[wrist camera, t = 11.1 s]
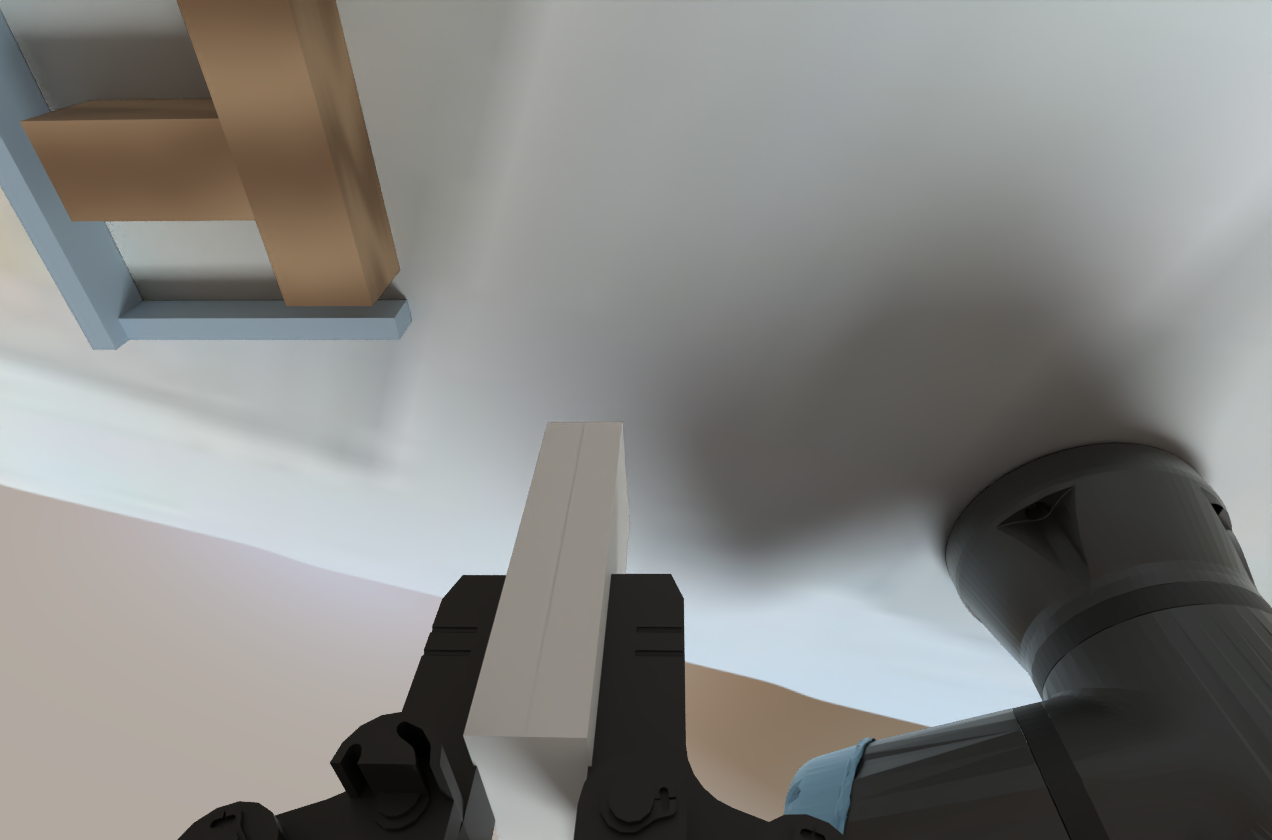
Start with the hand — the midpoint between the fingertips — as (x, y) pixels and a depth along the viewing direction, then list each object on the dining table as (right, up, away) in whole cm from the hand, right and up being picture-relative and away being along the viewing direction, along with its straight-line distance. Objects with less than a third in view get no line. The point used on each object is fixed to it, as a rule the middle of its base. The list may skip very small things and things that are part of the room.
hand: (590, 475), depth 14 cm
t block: (-17, +14, +17) cm, 27 cm away
